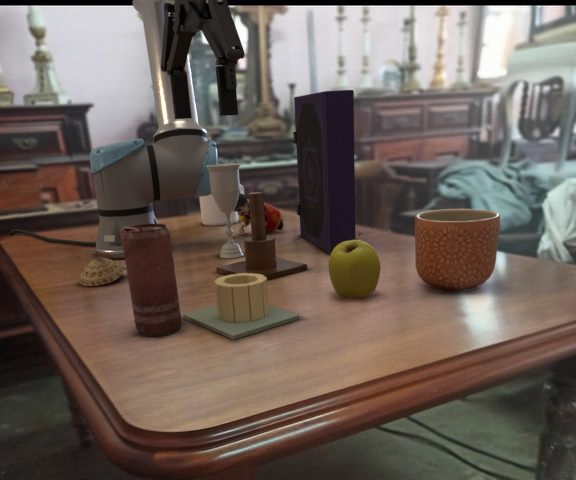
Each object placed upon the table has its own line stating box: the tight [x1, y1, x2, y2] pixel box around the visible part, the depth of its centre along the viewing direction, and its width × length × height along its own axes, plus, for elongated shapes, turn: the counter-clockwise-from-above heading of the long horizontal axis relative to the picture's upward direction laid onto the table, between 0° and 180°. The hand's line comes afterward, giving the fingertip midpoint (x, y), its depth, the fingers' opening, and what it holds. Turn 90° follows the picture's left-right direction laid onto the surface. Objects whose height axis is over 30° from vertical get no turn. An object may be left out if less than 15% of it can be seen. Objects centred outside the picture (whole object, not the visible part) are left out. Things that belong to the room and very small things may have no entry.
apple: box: [327, 232, 381, 299], centre depth 88 cm, size 8×8×10 cm
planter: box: [414, 208, 501, 292], centre depth 90 cm, size 12×12×11 cm
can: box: [121, 223, 182, 337], centre depth 78 cm, size 6×6×14 cm
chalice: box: [206, 162, 245, 259], centre depth 119 cm, size 7×7×18 cm
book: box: [292, 89, 357, 256], centre depth 123 cm, size 24×6×30 cm, turn 14°
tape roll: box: [213, 273, 270, 322], centre depth 82 cm, size 7×7×5 cm
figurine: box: [234, 193, 284, 236], centre depth 140 cm, size 10×10×15 cm
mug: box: [198, 183, 245, 227], centre depth 161 cm, size 13×10×10 cm
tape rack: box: [215, 191, 308, 281], centre depth 105 cm, size 12×12×14 cm
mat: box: [182, 304, 300, 341], centre depth 83 cm, size 13×11×1 cm
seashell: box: [78, 256, 127, 287], centre depth 108 cm, size 8×6×8 cm
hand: (205, 117), depth 91 cm, fingers open, 13 cm apart
